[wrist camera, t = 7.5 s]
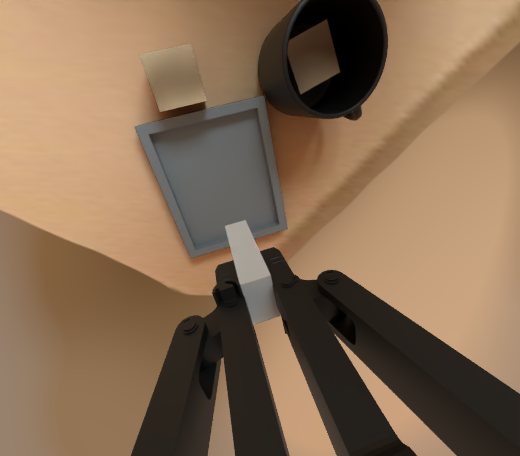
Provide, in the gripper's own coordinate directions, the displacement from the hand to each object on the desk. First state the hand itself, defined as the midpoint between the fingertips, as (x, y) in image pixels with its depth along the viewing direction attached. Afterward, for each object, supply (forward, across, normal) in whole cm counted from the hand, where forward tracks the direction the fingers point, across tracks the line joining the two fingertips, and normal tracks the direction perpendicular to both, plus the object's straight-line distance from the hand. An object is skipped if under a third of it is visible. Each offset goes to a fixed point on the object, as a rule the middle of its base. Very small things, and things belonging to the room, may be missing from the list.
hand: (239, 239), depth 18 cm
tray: (+16, 0, 0) cm, 16 cm away
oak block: (+16, -1, +11) cm, 20 cm away
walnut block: (+15, +12, +11) cm, 22 cm away
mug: (+16, +13, +9) cm, 22 cm away
